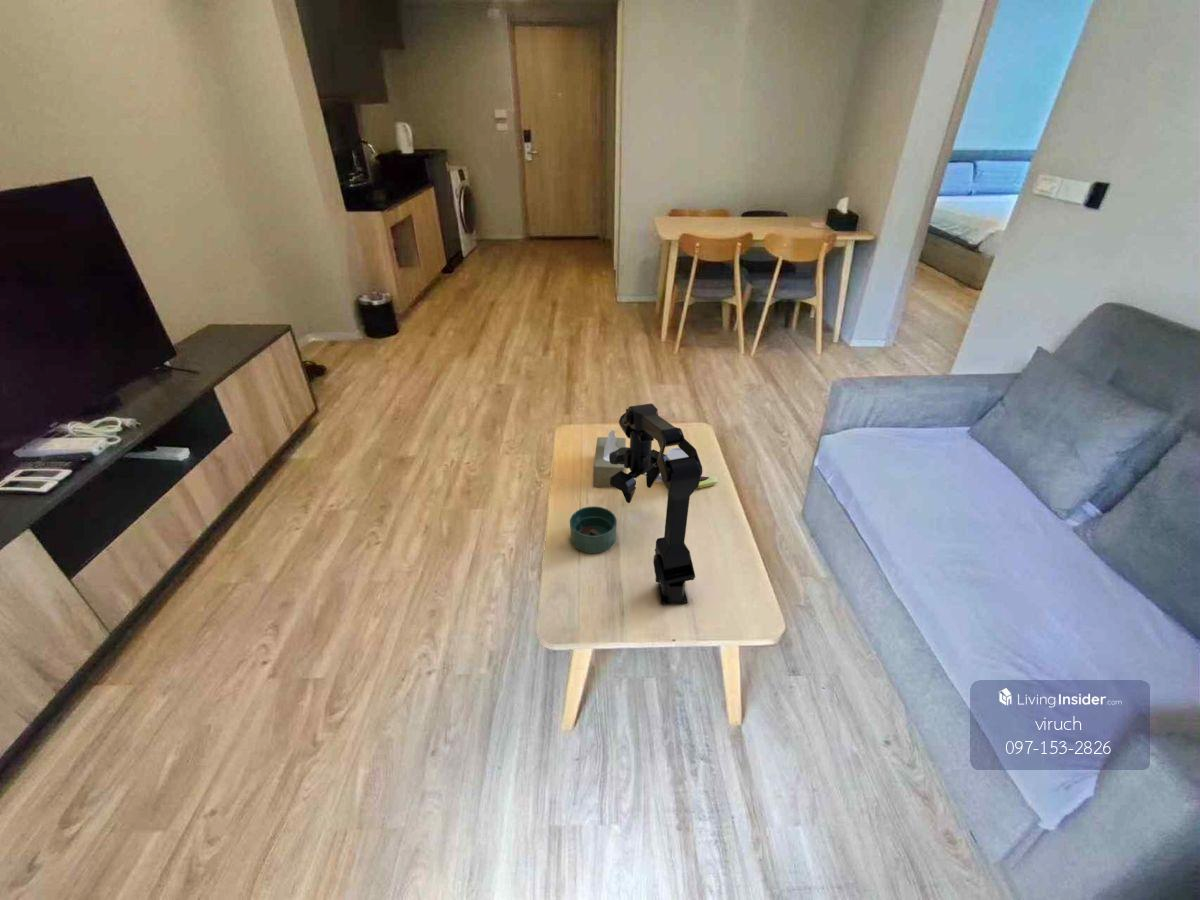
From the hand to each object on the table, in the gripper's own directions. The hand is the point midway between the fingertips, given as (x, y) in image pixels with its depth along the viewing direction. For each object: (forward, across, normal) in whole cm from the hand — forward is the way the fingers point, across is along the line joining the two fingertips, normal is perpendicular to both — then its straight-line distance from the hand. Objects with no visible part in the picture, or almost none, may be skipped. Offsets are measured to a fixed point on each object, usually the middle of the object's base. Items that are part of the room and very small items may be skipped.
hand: (638, 494), depth 150 cm
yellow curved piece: (+12, -27, -4) cm, 30 cm away
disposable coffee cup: (+6, -24, -3) cm, 25 cm away
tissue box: (+12, -16, -25) cm, 32 cm away
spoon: (+11, +12, -6) cm, 18 cm away
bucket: (+12, +12, -6) cm, 18 cm away
